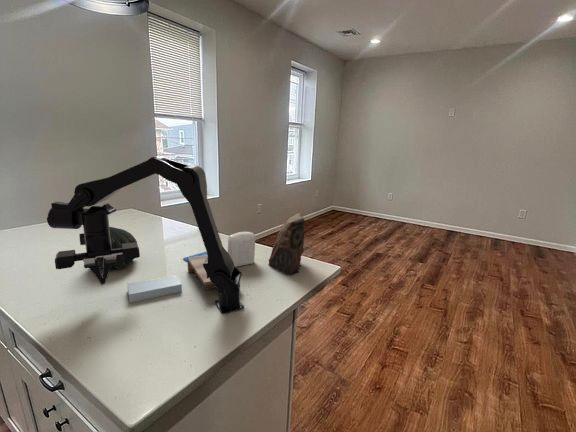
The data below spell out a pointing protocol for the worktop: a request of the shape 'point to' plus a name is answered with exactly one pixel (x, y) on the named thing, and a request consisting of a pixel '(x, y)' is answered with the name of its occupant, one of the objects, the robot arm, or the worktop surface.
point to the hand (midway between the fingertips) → (103, 283)
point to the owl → (289, 246)
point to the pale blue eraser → (154, 288)
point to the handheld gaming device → (195, 255)
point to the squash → (119, 246)
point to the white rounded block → (241, 248)
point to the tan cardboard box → (199, 270)
